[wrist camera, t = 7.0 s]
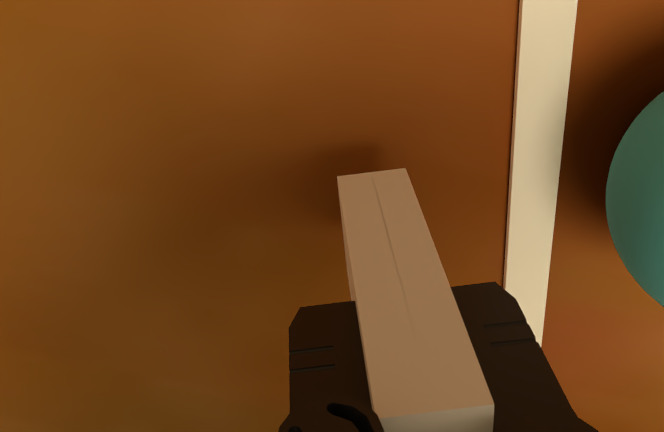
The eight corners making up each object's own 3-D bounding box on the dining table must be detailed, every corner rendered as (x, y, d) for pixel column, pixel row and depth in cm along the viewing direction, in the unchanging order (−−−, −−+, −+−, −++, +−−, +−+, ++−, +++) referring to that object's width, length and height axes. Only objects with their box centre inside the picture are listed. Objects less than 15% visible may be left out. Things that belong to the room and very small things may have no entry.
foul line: (534, 385, 20) (536, 389, 20) (497, 389, 20) (499, 394, 20) (596, -226, 11) (602, -228, 11) (532, -218, 11) (536, -219, 11)
